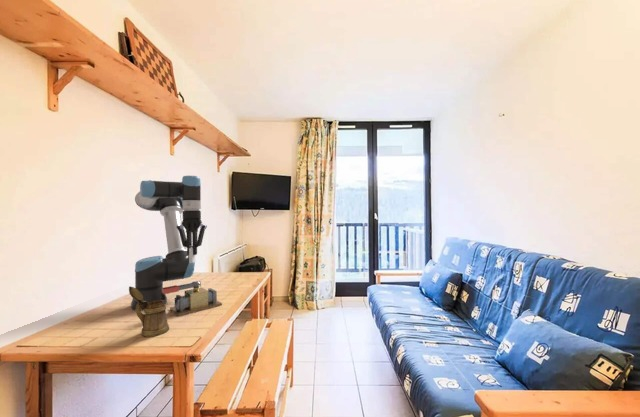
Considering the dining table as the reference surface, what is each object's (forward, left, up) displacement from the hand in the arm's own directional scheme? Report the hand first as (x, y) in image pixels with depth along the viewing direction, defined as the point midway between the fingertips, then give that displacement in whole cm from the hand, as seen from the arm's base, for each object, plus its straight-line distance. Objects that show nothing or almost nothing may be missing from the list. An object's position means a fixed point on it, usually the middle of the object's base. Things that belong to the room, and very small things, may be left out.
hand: (192, 262), depth 125 cm
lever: (-6, -2, -13) cm, 15 cm away
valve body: (-7, +4, -23) cm, 24 cm away
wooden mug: (+8, -19, -23) cm, 31 cm away
